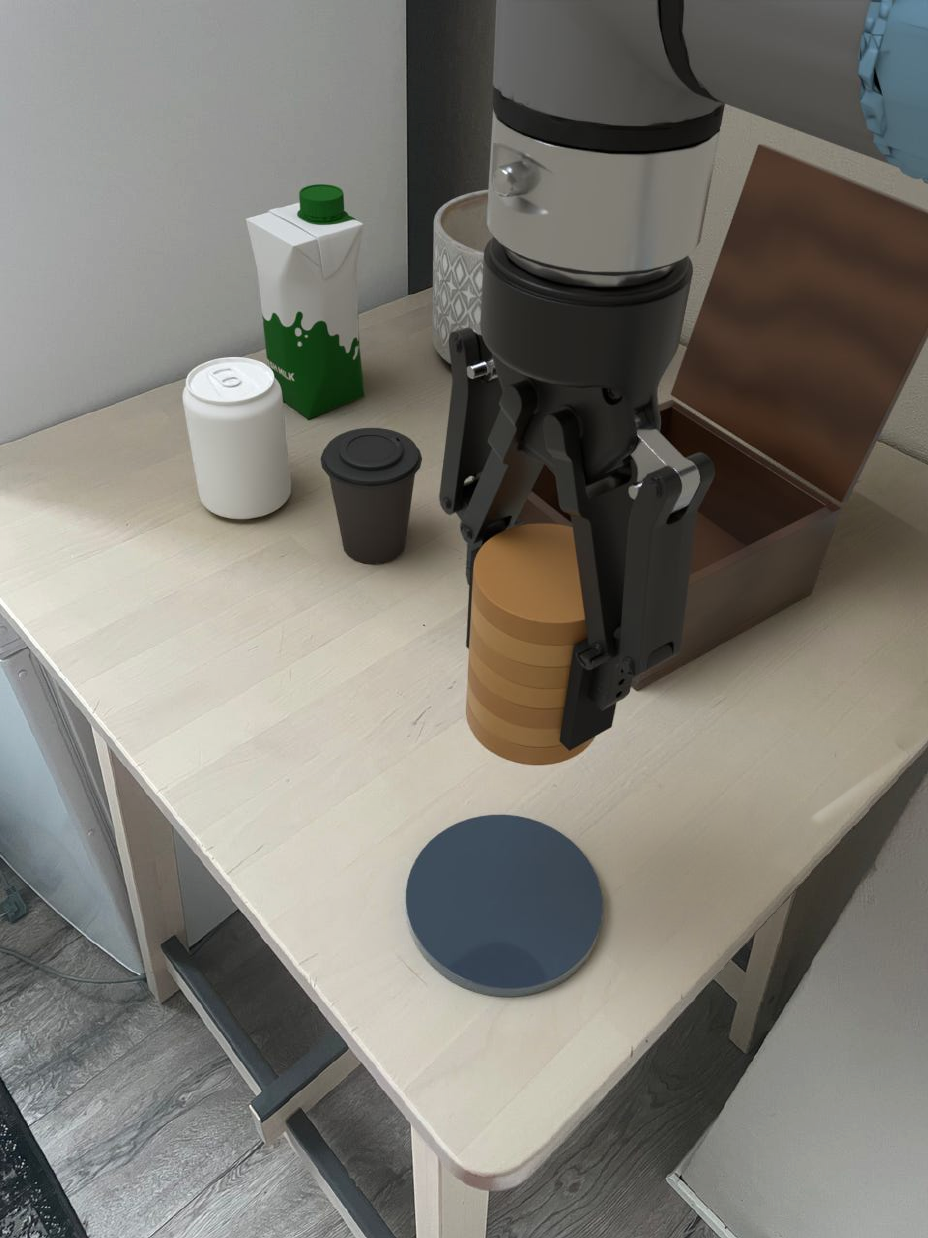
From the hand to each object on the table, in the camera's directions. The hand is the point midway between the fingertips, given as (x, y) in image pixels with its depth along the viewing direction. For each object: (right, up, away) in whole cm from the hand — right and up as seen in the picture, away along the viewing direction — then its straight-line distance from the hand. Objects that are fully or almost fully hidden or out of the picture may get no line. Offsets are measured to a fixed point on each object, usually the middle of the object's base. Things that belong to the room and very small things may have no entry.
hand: (536, 685), depth 52 cm
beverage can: (-23, +14, +40) cm, 49 cm away
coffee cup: (-11, +10, +36) cm, 39 cm away
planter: (+2, +33, +62) cm, 70 cm away
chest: (+12, +7, +34) cm, 37 cm away
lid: (+22, +26, +26) cm, 43 cm away
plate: (-1, -14, +11) cm, 18 cm away
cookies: (0, -2, +1) cm, 2 cm away
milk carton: (-19, +26, +54) cm, 63 cm away
